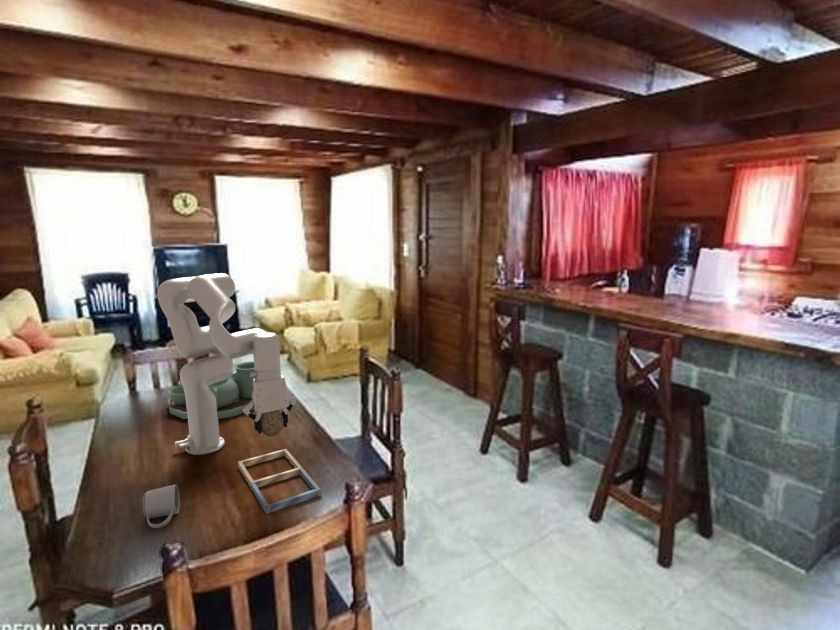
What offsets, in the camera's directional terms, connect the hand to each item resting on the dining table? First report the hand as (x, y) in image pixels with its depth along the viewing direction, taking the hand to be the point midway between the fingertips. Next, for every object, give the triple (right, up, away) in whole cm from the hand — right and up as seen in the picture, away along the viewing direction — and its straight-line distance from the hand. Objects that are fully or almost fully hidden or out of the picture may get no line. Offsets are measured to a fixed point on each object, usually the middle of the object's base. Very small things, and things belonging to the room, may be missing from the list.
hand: (271, 428), depth 147 cm
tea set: (-43, -4, +62) cm, 76 cm away
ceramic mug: (-24, -20, -17) cm, 36 cm away
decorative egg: (0, -3, +1) cm, 3 cm away
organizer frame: (+1, -16, +1) cm, 16 cm away
